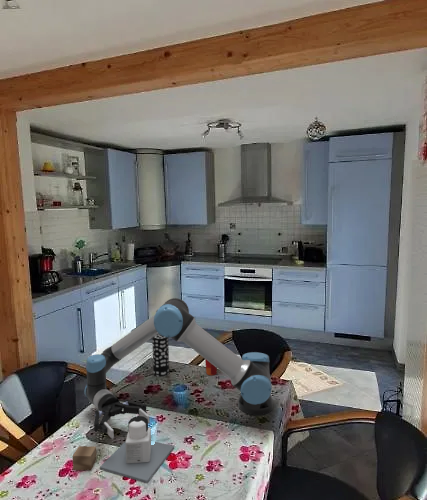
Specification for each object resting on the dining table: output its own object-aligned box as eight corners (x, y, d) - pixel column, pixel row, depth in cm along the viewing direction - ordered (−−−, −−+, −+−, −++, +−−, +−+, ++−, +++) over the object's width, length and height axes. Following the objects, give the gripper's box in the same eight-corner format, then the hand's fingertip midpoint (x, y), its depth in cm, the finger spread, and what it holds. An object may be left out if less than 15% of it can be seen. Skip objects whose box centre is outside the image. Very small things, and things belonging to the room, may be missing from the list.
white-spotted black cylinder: (171, 371, 192) (171, 334, 191) (164, 377, 185) (163, 339, 183) (157, 369, 195) (157, 333, 193) (150, 375, 187) (149, 338, 185)
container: (129, 449, 126) (128, 414, 125) (151, 447, 127) (150, 412, 126) (126, 464, 119) (124, 426, 118) (149, 462, 120) (148, 425, 118)
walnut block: (96, 460, 122) (96, 446, 122) (91, 470, 117) (90, 456, 117) (79, 459, 123) (78, 446, 122) (73, 470, 118) (72, 455, 117)
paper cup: (219, 370, 193) (219, 345, 191) (218, 376, 185) (217, 350, 184) (204, 369, 193) (204, 344, 192) (203, 376, 186) (202, 349, 185)
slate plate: (174, 448, 128) (174, 446, 128) (147, 483, 111) (147, 480, 111) (131, 437, 135) (131, 435, 134) (99, 469, 118) (99, 466, 118)
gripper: (135, 401, 150) (162, 423, 133) (74, 423, 134) (96, 452, 118) (135, 384, 149) (161, 404, 133) (73, 404, 133) (95, 430, 117)
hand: (131, 426), depth 125 cm, fingers open, 13 cm apart
